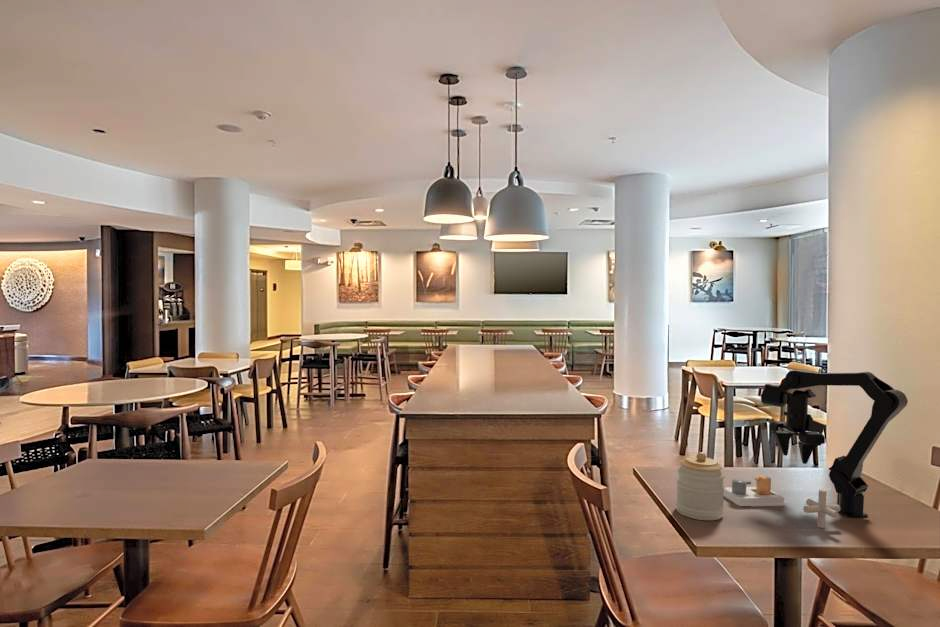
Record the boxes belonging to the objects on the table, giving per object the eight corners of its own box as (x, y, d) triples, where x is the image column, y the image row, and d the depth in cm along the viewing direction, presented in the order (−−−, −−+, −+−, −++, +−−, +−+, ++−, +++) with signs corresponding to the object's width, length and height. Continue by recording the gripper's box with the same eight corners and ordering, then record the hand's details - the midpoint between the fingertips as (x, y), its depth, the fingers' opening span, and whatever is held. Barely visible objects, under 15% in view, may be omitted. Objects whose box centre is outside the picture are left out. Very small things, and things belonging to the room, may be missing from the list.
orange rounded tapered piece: (773, 499, 183) (773, 479, 183) (759, 499, 183) (759, 479, 183) (765, 494, 187) (765, 475, 187) (751, 494, 187) (752, 475, 187)
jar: (665, 507, 177) (668, 448, 176) (701, 503, 182) (703, 445, 181) (696, 523, 165) (699, 460, 164) (733, 518, 169) (736, 456, 169)
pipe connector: (823, 519, 171) (825, 484, 170) (851, 533, 161) (853, 496, 160) (792, 520, 169) (793, 485, 168) (818, 534, 159) (820, 497, 159)
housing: (783, 505, 181) (784, 486, 180) (740, 506, 179) (740, 486, 179) (763, 494, 191) (764, 475, 190) (722, 495, 189) (722, 476, 189)
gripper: (842, 416, 179) (840, 468, 180) (801, 404, 198) (798, 451, 198) (808, 416, 178) (805, 468, 179) (769, 404, 196) (767, 451, 197)
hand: (794, 459), depth 188 cm, fingers open, 9 cm apart
